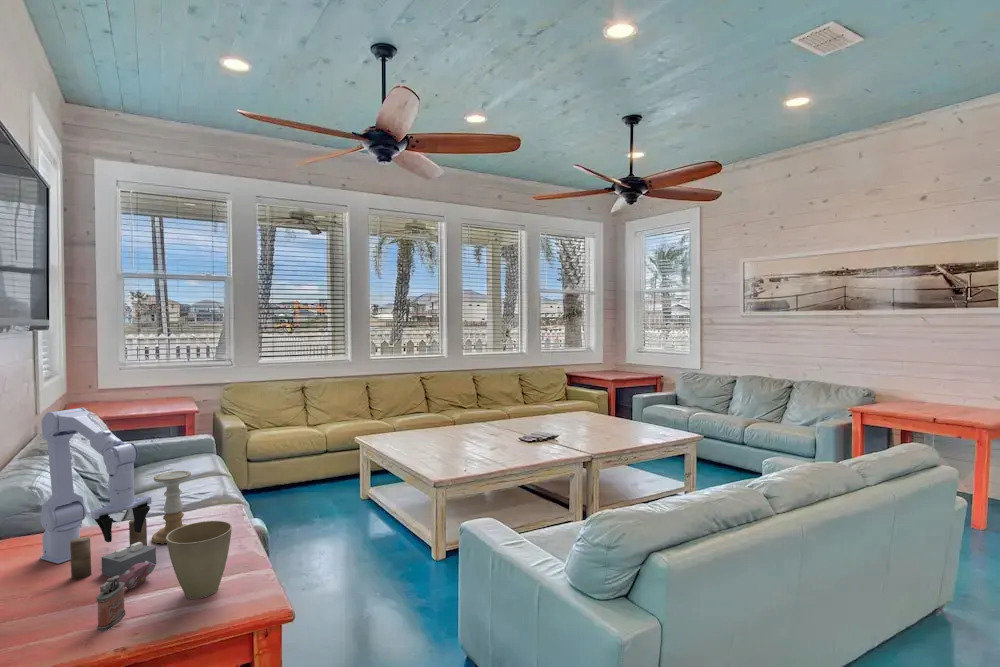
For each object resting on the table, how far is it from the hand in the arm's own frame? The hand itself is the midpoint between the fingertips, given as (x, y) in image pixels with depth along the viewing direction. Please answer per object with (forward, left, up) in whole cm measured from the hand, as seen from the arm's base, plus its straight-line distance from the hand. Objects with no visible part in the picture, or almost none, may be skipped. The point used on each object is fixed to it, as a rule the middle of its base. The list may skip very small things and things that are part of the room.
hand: (123, 536), depth 158 cm
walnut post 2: (-8, +10, -10) cm, 16 cm away
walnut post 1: (-8, -6, -10) cm, 15 cm away
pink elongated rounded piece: (+10, -4, -10) cm, 15 cm away
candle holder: (-10, +23, -10) cm, 27 cm away
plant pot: (+31, 0, -10) cm, 32 cm away
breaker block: (0, +2, -10) cm, 10 cm away
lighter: (+24, -18, -10) cm, 31 cm away
